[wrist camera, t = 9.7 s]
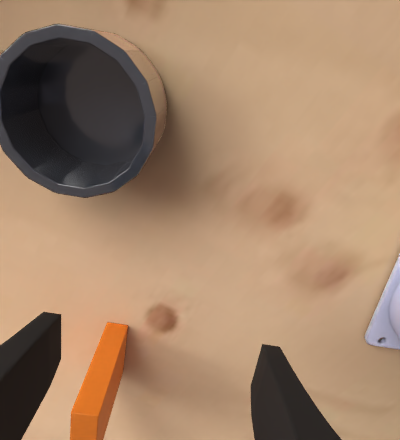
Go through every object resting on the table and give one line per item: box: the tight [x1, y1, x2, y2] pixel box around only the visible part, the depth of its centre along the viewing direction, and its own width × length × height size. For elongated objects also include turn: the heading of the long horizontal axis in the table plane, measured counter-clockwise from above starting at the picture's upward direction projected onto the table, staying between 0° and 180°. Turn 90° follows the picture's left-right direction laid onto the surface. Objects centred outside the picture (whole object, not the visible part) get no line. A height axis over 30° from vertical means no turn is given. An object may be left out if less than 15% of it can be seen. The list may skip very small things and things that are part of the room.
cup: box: [0, 24, 167, 198], centre depth 18 cm, size 7×7×4 cm
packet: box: [70, 322, 128, 440], centre depth 23 cm, size 1×4×7 cm, turn 171°
